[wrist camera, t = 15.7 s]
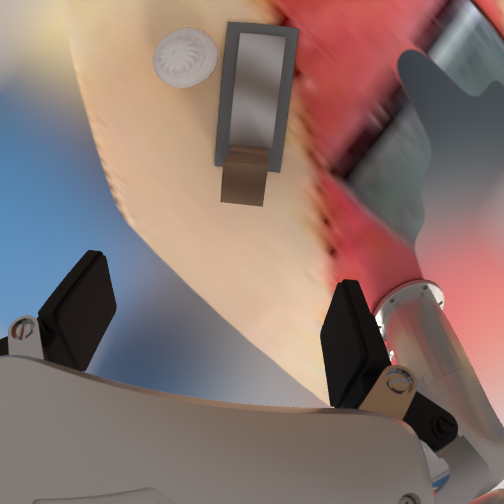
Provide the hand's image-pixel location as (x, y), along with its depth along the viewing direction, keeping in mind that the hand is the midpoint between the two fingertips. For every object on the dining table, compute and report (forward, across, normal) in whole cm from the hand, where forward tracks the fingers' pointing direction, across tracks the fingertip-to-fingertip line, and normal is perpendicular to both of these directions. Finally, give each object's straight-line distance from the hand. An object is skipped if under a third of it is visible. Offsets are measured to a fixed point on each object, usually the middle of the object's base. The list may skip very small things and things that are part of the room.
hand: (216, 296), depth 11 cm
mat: (+22, 0, -7) cm, 23 cm away
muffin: (+22, +7, -10) cm, 26 cm away
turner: (+22, 0, -6) cm, 23 cm away
